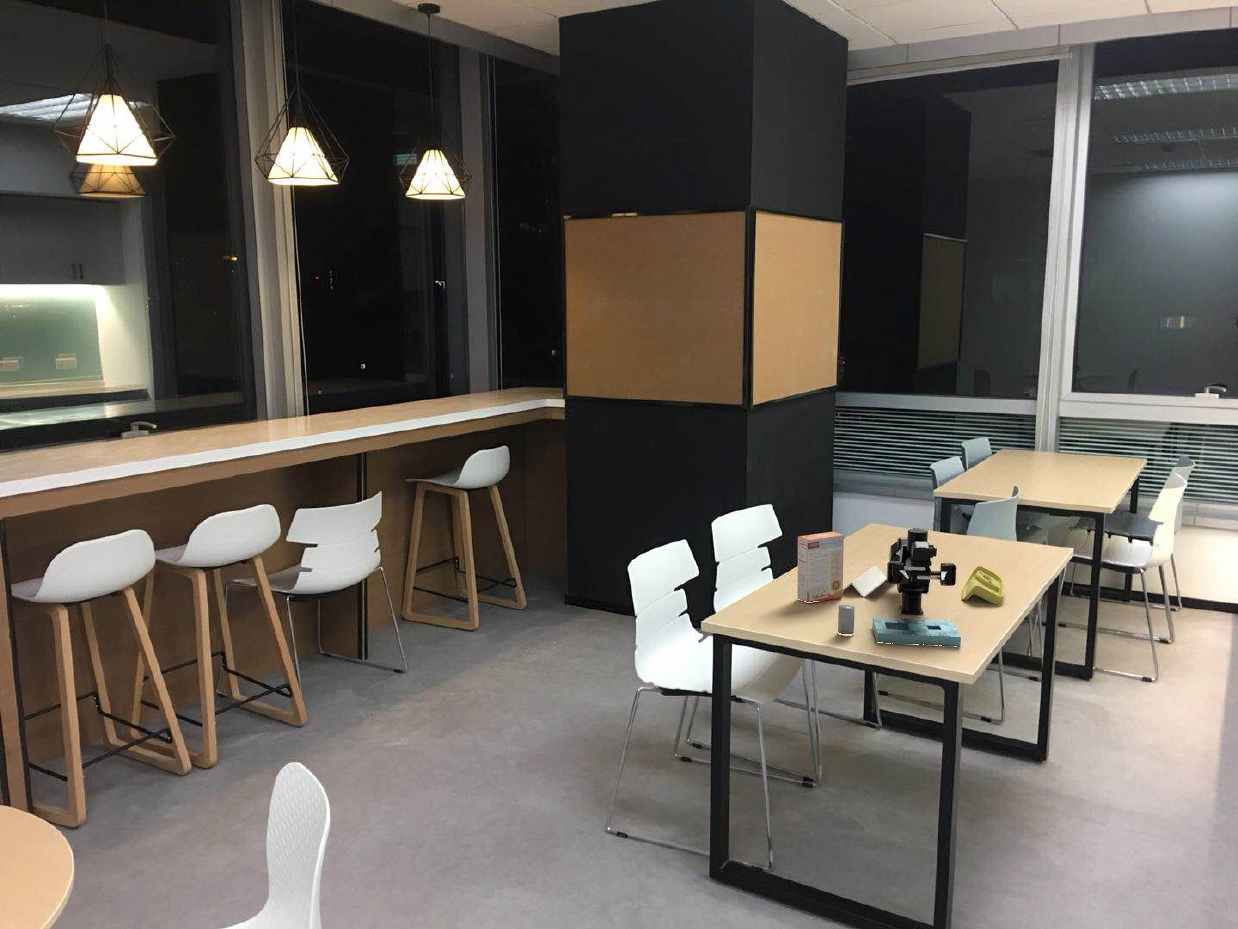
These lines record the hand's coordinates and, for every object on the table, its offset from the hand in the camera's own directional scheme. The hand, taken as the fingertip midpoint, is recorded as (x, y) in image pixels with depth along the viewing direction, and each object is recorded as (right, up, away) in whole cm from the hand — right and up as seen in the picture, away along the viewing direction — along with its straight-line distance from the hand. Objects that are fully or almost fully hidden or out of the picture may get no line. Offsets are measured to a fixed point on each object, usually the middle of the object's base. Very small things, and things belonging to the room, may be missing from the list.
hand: (925, 581), depth 269 cm
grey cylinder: (-20, -16, +7) cm, 27 cm away
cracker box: (-21, -11, +40) cm, 47 cm away
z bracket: (-2, -9, +53) cm, 54 cm away
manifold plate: (-2, -16, +4) cm, 17 cm away
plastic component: (+32, -10, +43) cm, 55 cm away
